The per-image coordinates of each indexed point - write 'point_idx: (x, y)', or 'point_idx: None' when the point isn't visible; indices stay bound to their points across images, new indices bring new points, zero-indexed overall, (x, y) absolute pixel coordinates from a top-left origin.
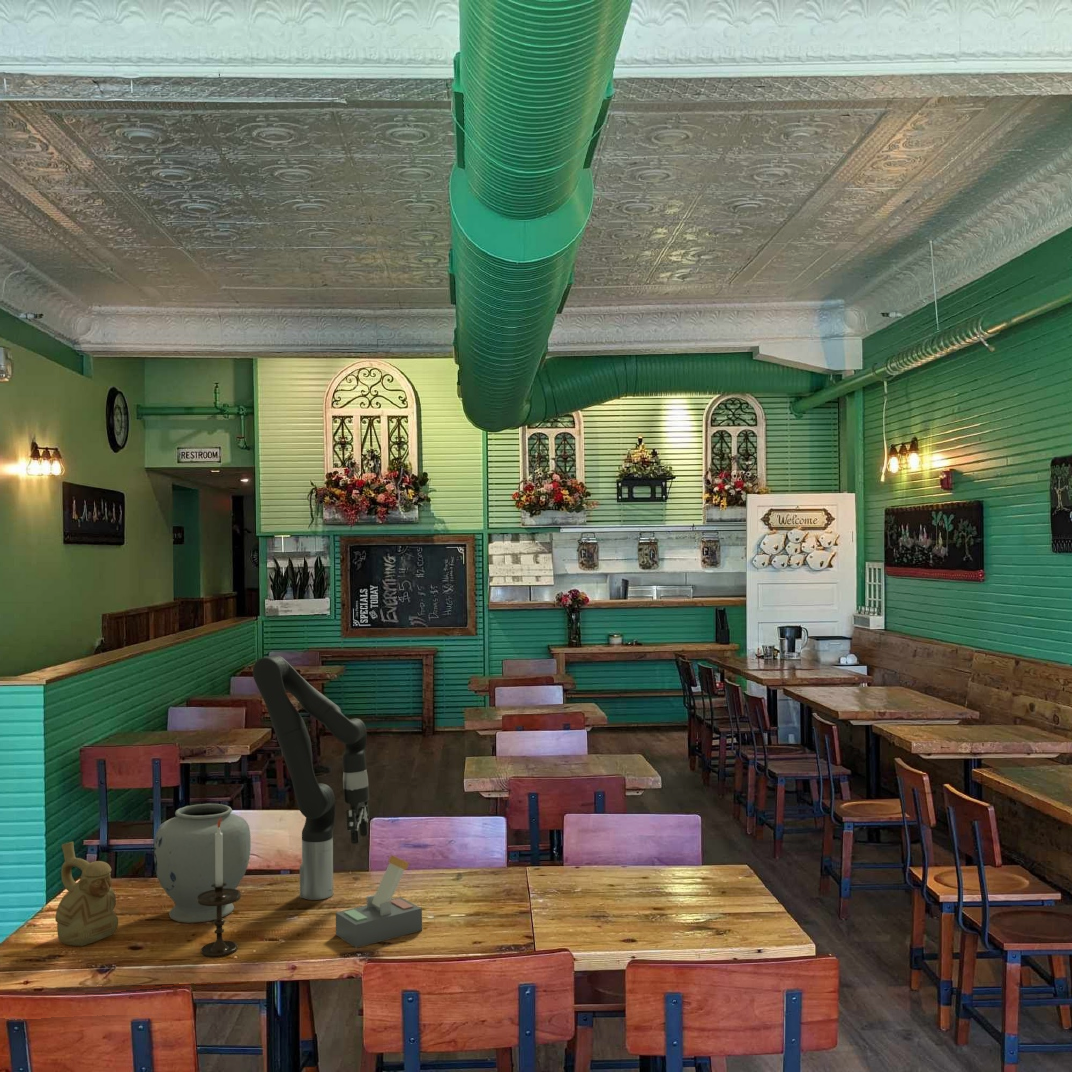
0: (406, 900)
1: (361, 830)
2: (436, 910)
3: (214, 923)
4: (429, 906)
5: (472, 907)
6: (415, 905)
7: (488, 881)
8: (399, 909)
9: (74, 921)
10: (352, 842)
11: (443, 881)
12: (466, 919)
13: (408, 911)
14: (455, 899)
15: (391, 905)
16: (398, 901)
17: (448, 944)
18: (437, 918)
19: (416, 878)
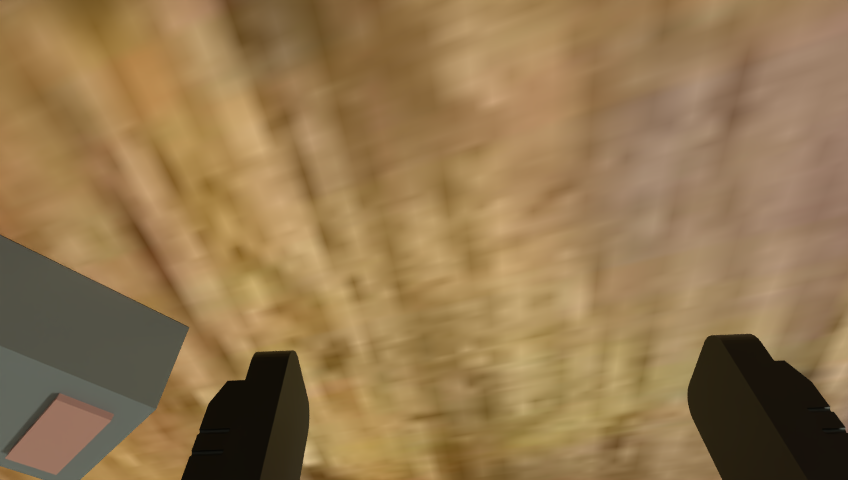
0: (125, 435)
1: (745, 412)
2: (326, 401)
3: None
4: (364, 375)
5: (385, 467)
6: (86, 469)
7: (668, 458)
8: (1, 440)
9: None
10: (255, 366)
11: (699, 351)
12: None
13: (4, 466)
14: (460, 422)
15: (24, 408)
16: (71, 427)
17: None
18: None
19: (781, 246)
